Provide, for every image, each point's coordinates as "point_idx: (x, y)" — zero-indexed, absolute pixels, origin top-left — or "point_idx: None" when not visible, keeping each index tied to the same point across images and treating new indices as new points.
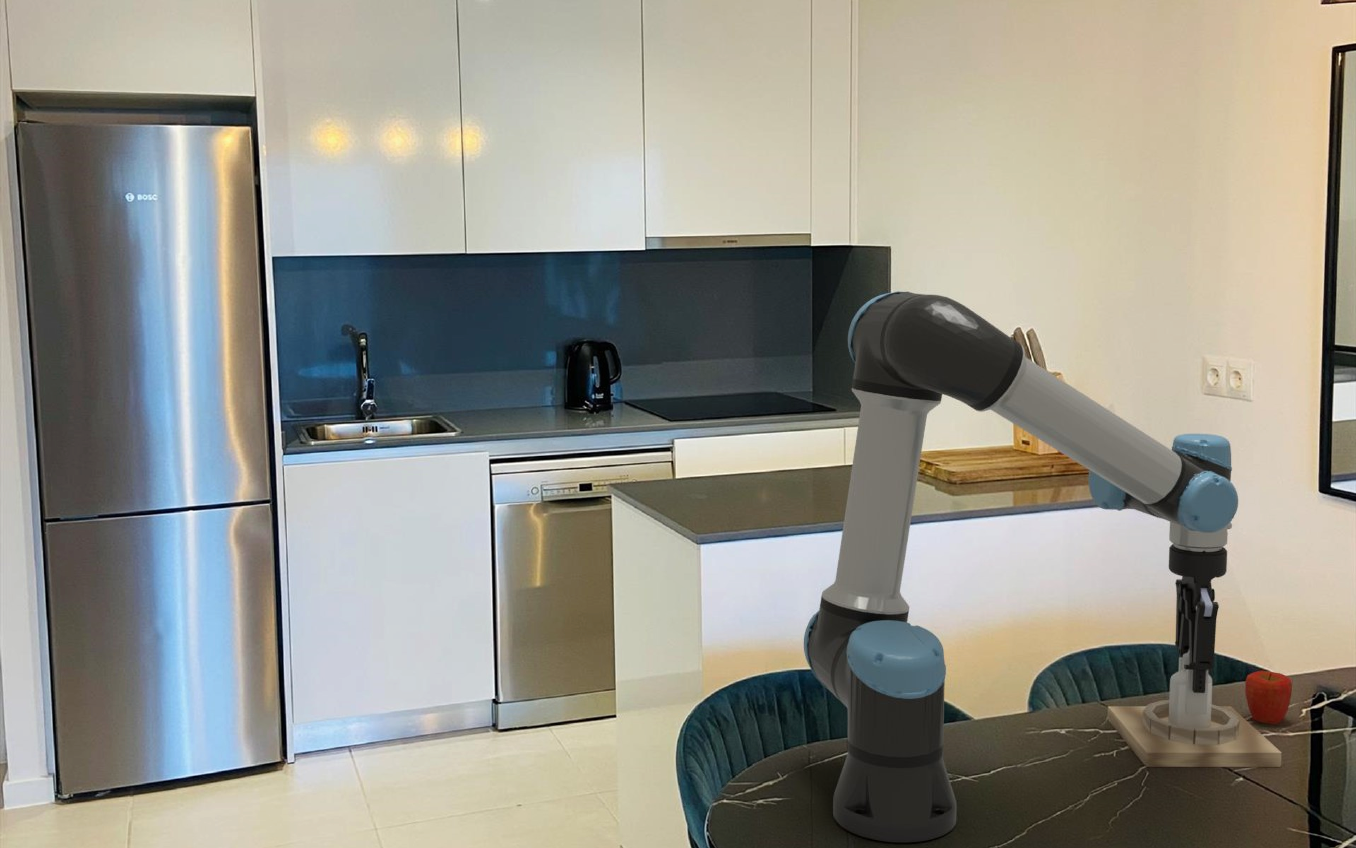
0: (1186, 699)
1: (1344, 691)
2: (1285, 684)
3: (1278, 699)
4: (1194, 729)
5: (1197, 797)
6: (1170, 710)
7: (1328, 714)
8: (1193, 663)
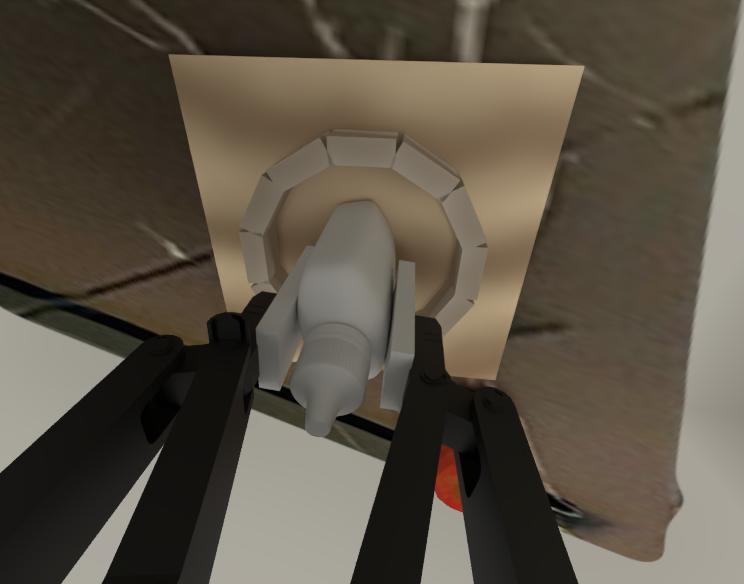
0: (303, 265)
1: (570, 534)
2: (436, 493)
3: None
4: (250, 232)
5: (39, 122)
6: (353, 215)
7: None
8: (150, 348)
